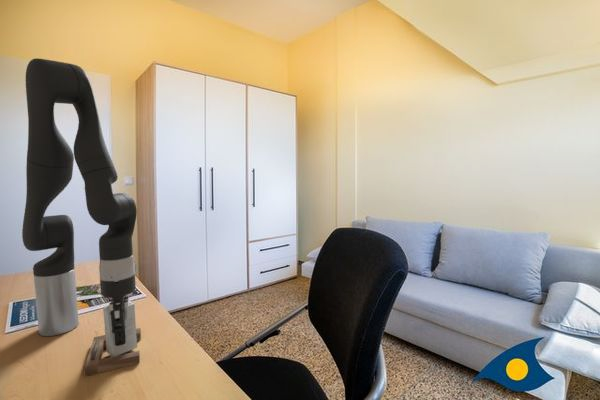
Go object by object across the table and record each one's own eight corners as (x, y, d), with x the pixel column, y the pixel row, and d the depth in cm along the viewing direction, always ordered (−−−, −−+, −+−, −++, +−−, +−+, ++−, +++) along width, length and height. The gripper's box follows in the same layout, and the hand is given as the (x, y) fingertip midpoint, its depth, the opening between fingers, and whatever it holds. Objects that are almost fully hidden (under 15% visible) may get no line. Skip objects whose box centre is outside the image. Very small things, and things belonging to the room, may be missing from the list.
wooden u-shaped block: (94, 344, 82) (93, 334, 82) (140, 334, 87) (140, 325, 87) (84, 376, 70) (84, 364, 69) (139, 362, 74) (138, 352, 74)
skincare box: (131, 341, 82) (129, 298, 81) (137, 348, 79) (135, 303, 78) (105, 351, 78) (102, 306, 76) (111, 358, 75) (108, 312, 73)
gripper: (103, 267, 81) (107, 328, 83) (95, 286, 68) (100, 358, 70) (135, 263, 84) (138, 322, 86) (133, 281, 71) (137, 349, 73)
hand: (121, 338), depth 78 cm, fingers closed on skincare box, 5 cm apart
